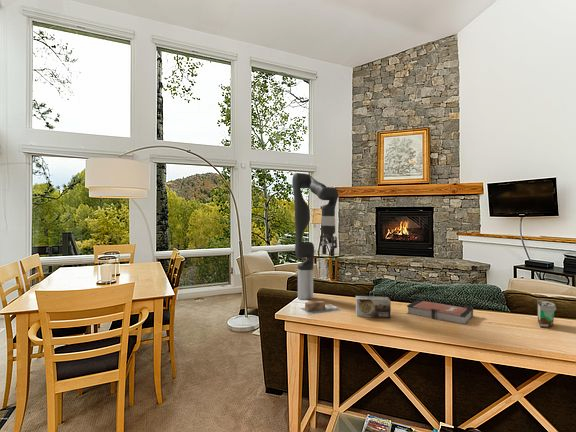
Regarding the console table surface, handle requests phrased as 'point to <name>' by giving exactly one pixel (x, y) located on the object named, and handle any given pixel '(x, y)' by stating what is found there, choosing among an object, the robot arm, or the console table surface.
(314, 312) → the slate mat
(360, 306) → the coffee box
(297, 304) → the console table surface
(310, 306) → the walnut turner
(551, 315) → the food container
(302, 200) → the robot arm
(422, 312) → the book
